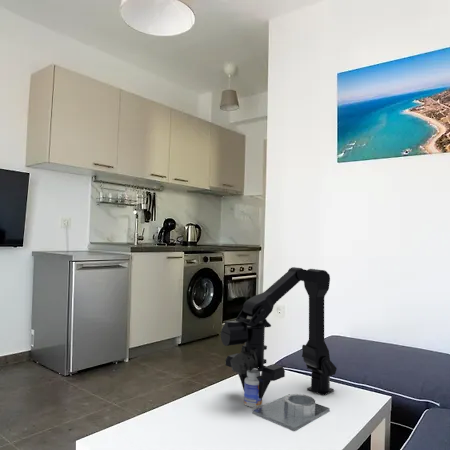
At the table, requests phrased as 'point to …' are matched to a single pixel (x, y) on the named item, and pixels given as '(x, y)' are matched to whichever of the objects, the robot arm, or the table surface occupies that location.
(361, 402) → the table surface
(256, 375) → the pill bottle
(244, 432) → the table surface
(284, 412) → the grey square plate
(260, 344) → the robot arm
